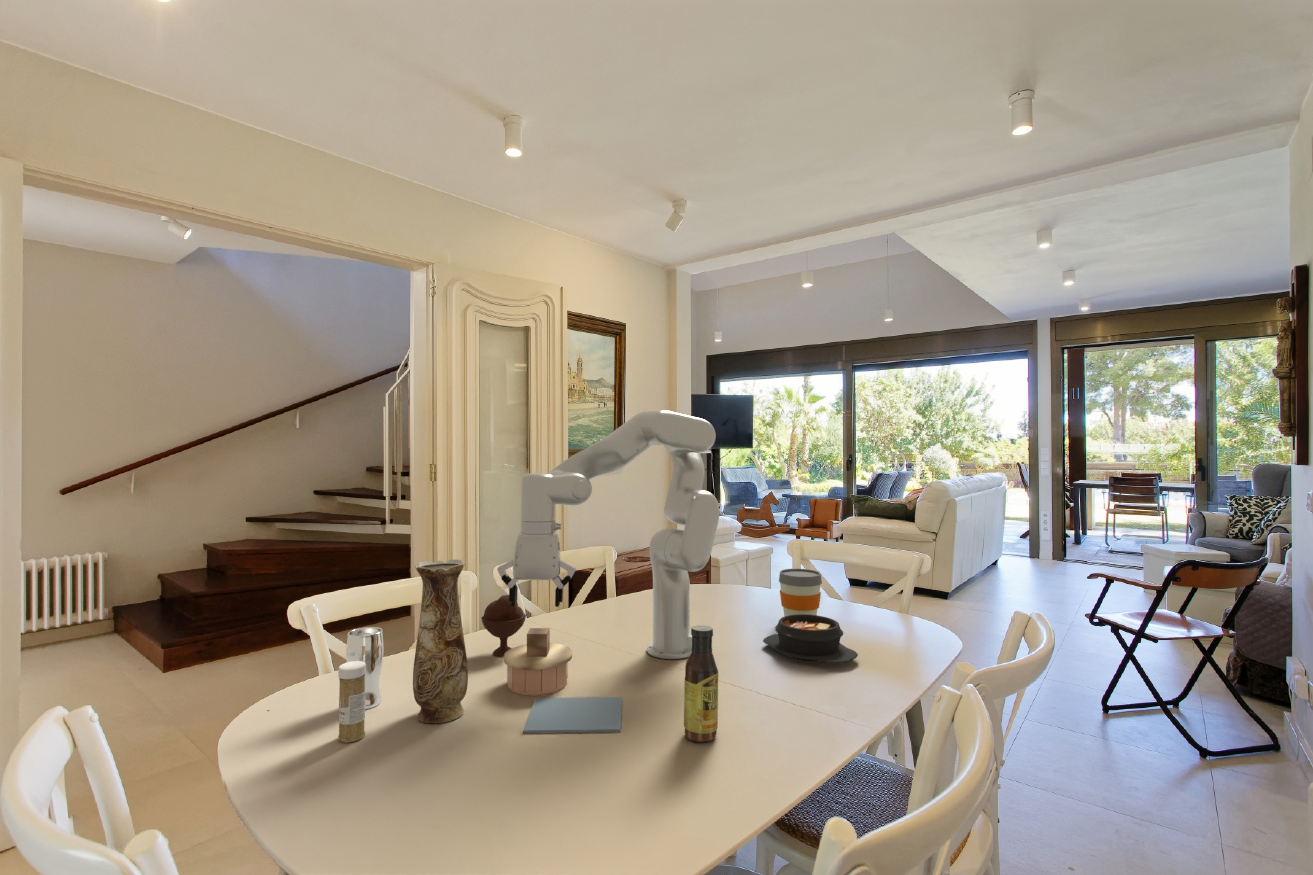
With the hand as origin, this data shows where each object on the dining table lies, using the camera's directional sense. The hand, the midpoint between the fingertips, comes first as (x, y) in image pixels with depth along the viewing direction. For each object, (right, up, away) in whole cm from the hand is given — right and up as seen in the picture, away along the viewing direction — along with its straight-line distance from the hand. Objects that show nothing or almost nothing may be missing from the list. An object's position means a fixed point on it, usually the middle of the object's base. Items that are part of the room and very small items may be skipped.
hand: (535, 605), depth 142 cm
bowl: (0, -18, 0) cm, 18 cm away
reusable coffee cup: (+70, -18, +48) cm, 87 cm away
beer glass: (-33, -18, -11) cm, 39 cm away
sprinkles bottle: (-29, -18, -26) cm, 43 cm away
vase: (-16, -18, -15) cm, 28 cm away
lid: (+1, -12, 0) cm, 12 cm away
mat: (+11, -18, -16) cm, 26 cm away
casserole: (+66, -18, +20) cm, 71 cm away
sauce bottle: (+35, -18, -25) cm, 47 cm away
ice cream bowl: (-12, -18, +21) cm, 30 cm away
